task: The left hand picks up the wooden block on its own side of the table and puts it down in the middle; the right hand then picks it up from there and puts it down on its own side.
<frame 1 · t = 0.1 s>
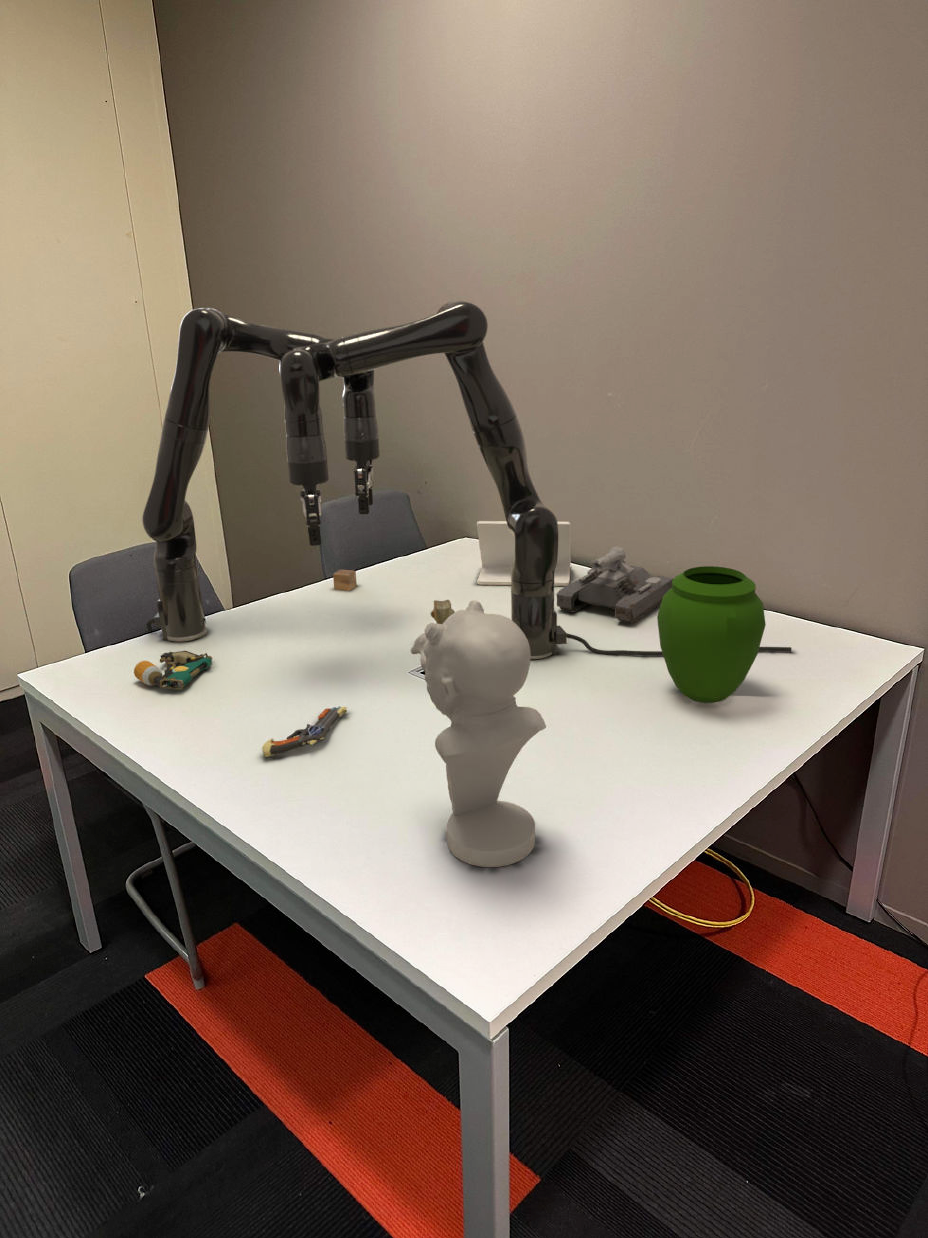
left hand: (366, 509, 193), 29 cm above the table, tool pointing down, fingers open, 8 cm apart
right hand: (314, 539, 170), 29 cm above the table, tool pointing down, fingers open, 8 cm apart
block: (345, 587, 233), on the table
vase: (704, 696, 165), on the table
toy: (615, 605, 214), on the table
toy gun: (306, 735, 154), on the table
sculpture: (445, 671, 180), on the table
bust sculpture: (470, 832, 125), on the table
spray gun: (177, 676, 181), on the table
tablet stand: (525, 575, 239), on the table
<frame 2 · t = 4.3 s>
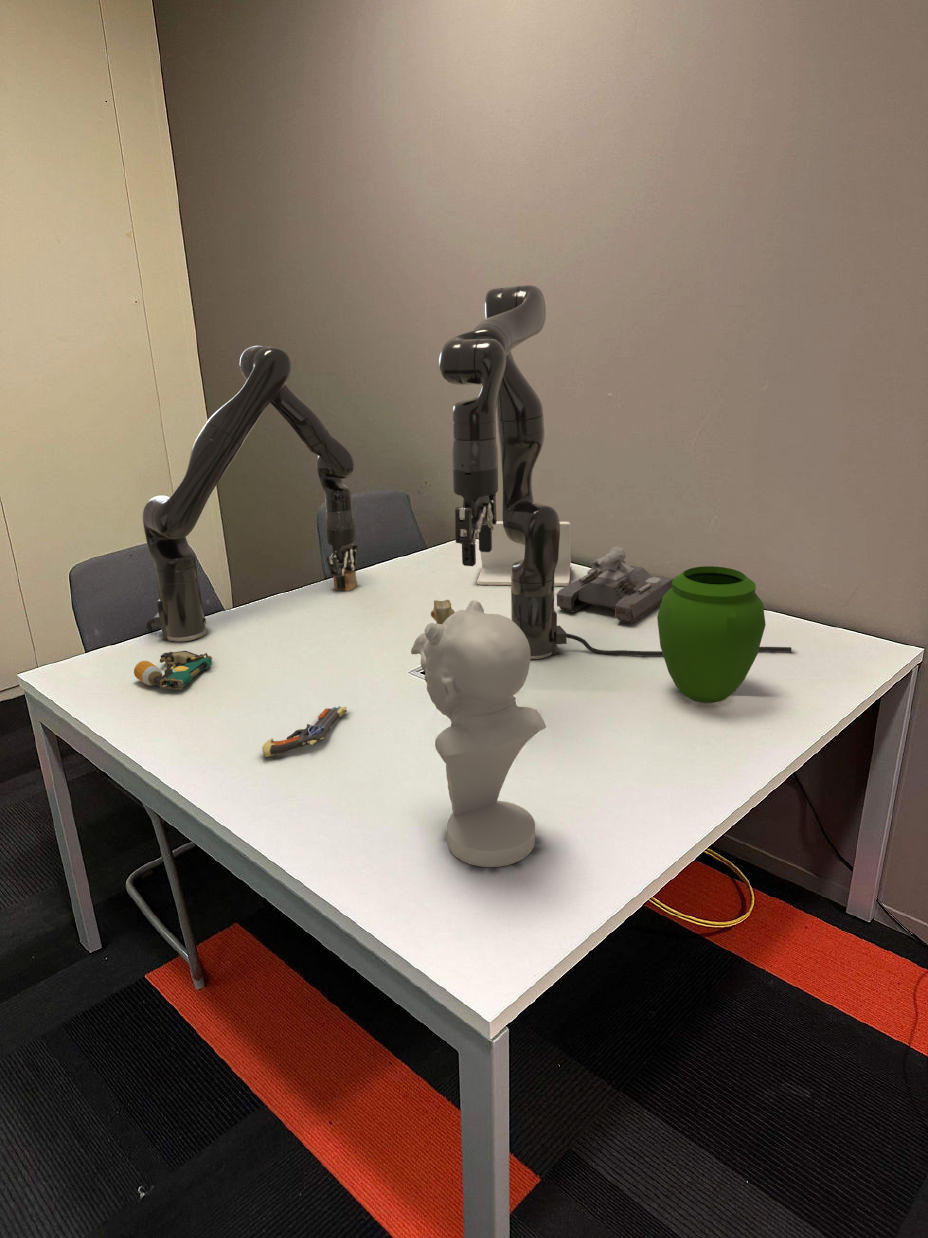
left hand: (345, 586, 233), 1 cm above the table, tool pointing down, fingers closed on block, 4 cm apart
right hand: (477, 558, 148), 31 cm above the table, tool pointing down, fingers open, 8 cm apart
block: (345, 587, 233), on the table, touching left hand
everything else where it was.
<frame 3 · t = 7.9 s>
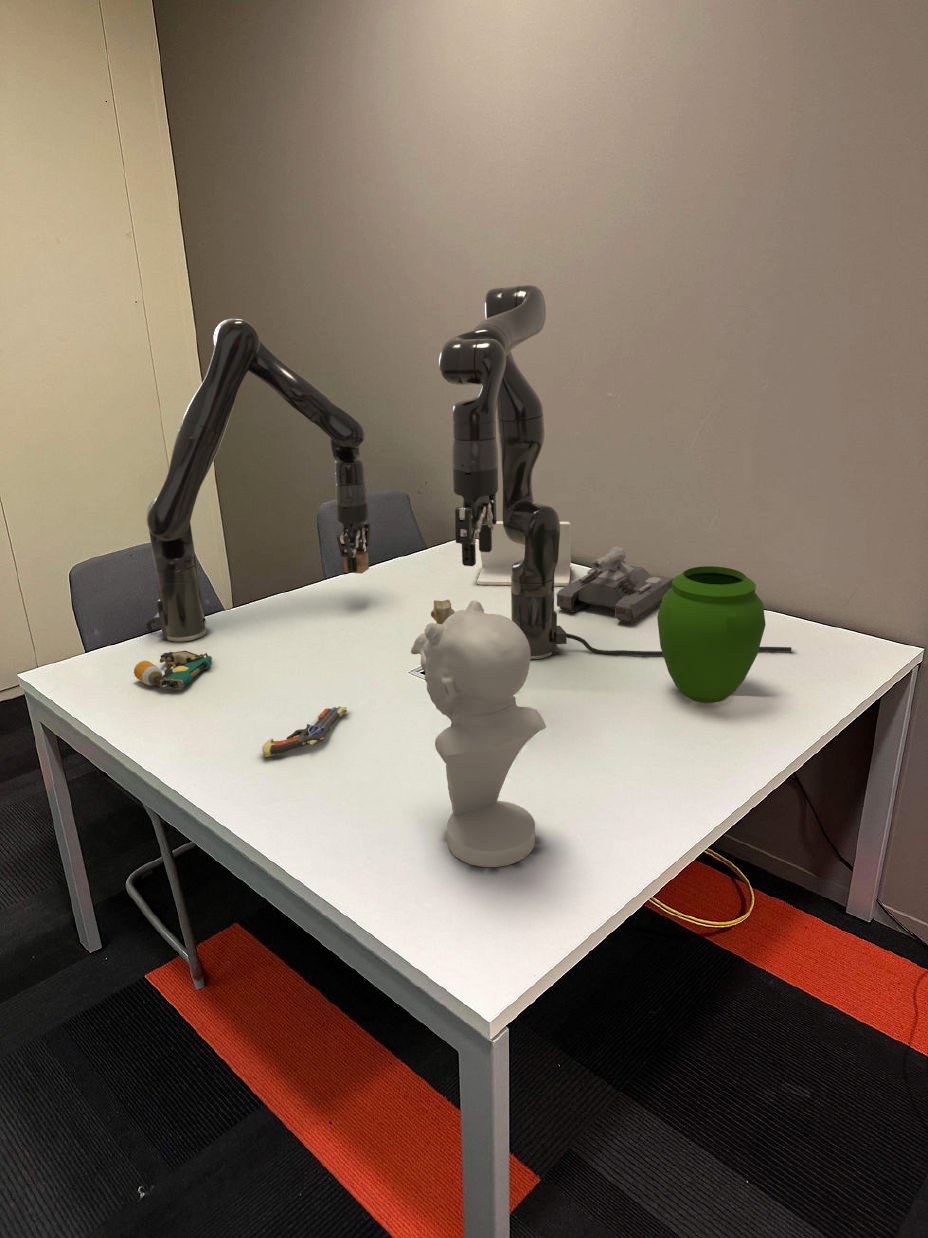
left hand: (356, 568, 213), 11 cm above the table, tool pointing down, fingers closed on block, 4 cm apart
right hand: (477, 558, 148), 31 cm above the table, tool pointing down, fingers open, 8 cm apart
block: (356, 570, 213), point 10 cm above the table, touching left hand
everything else where it was.
when the left hand's fingers open (1 cm above the table, at t = 11.8 s): block stays where it is, on the table.
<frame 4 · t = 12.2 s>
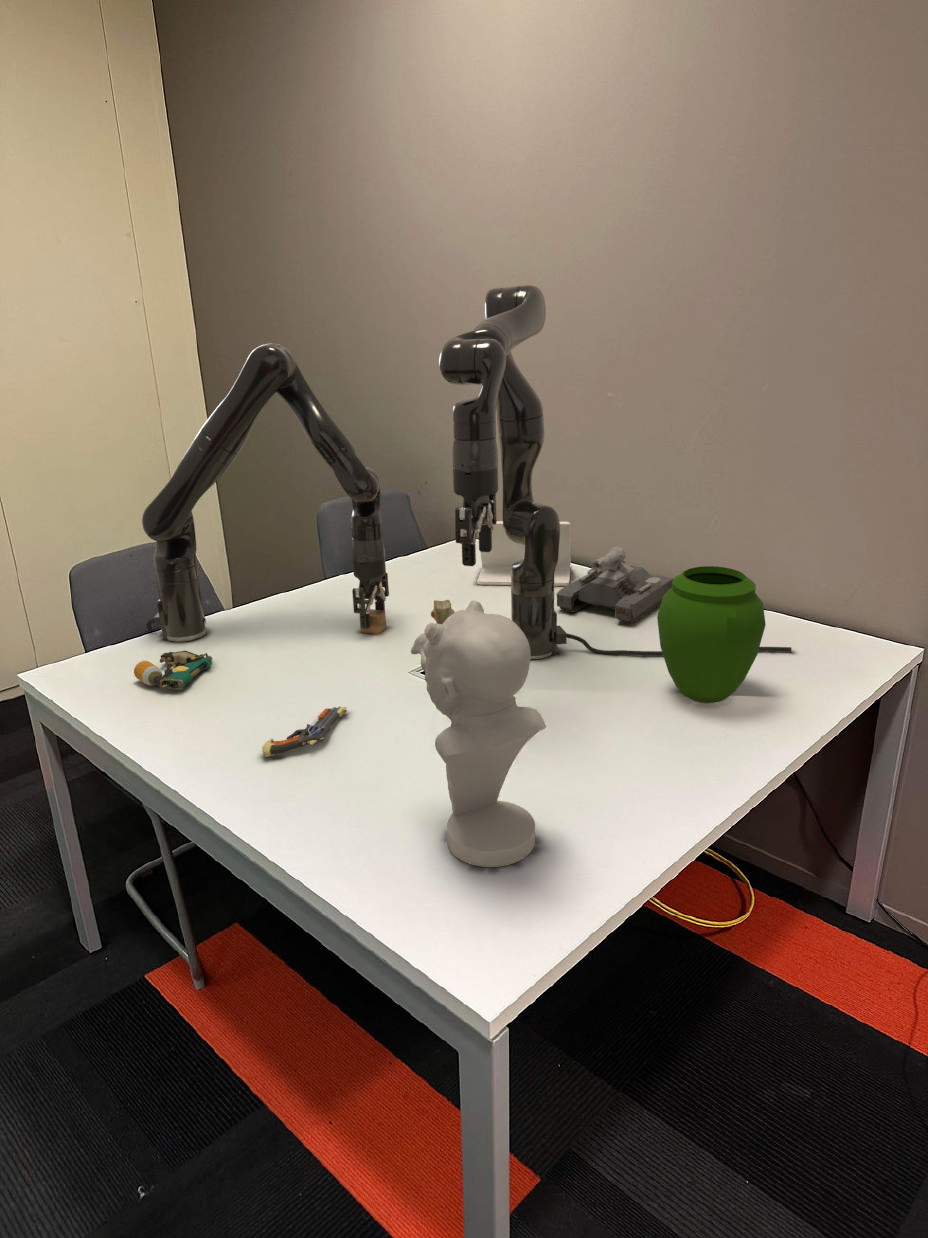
left hand: (373, 622, 202), 2 cm above the table, tool pointing down, fingers open, 7 cm apart
right hand: (477, 558, 148), 31 cm above the table, tool pointing down, fingers open, 8 cm apart
block: (373, 630, 203), on the table
everything else where it was.
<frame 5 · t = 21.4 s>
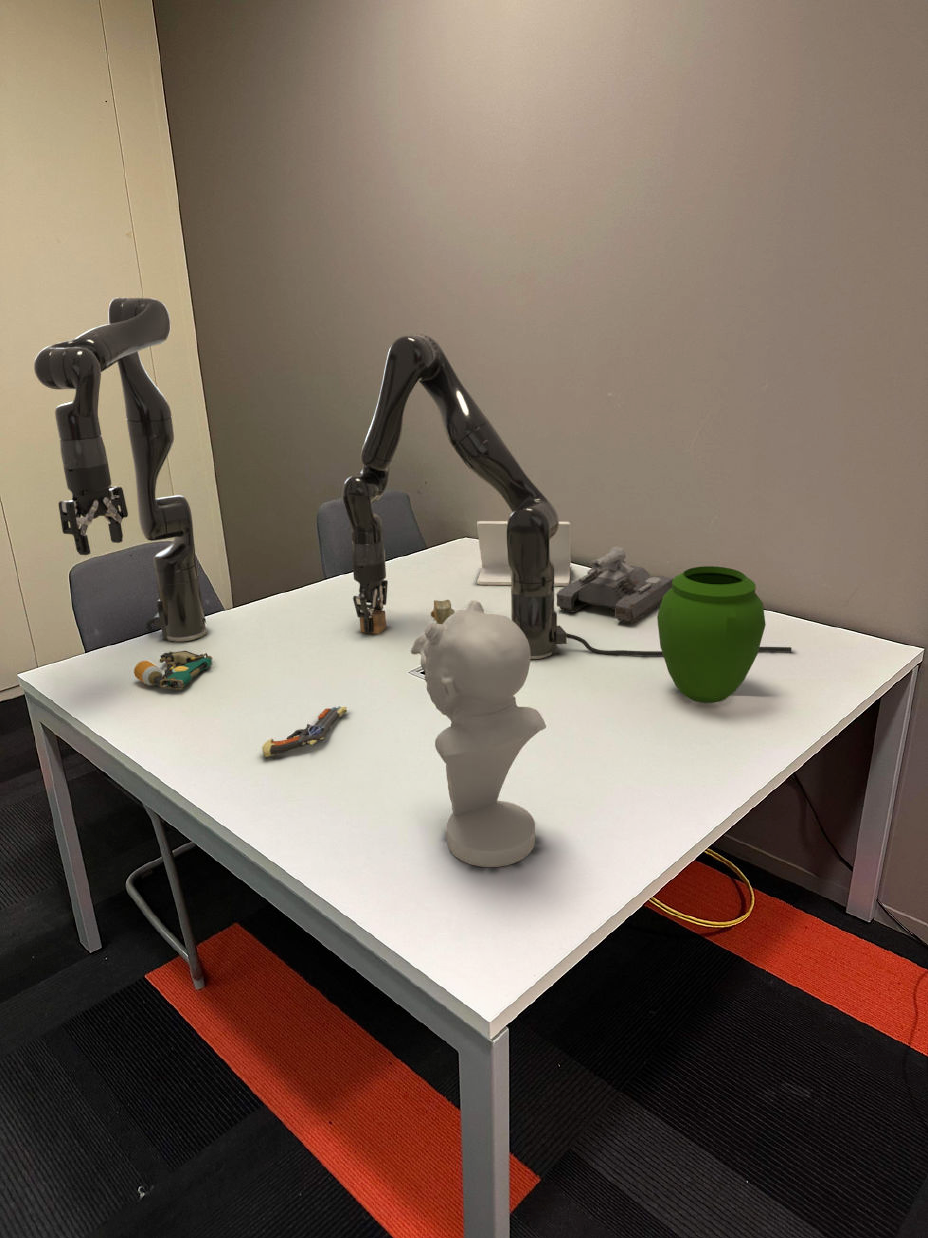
left hand: (101, 548, 161), 31 cm above the table, tool pointing down, fingers open, 8 cm apart
right hand: (373, 628, 203), 1 cm above the table, tool pointing down, fingers closed on block, 4 cm apart
block: (373, 630, 203), on the table, touching right hand
everything else where it was.
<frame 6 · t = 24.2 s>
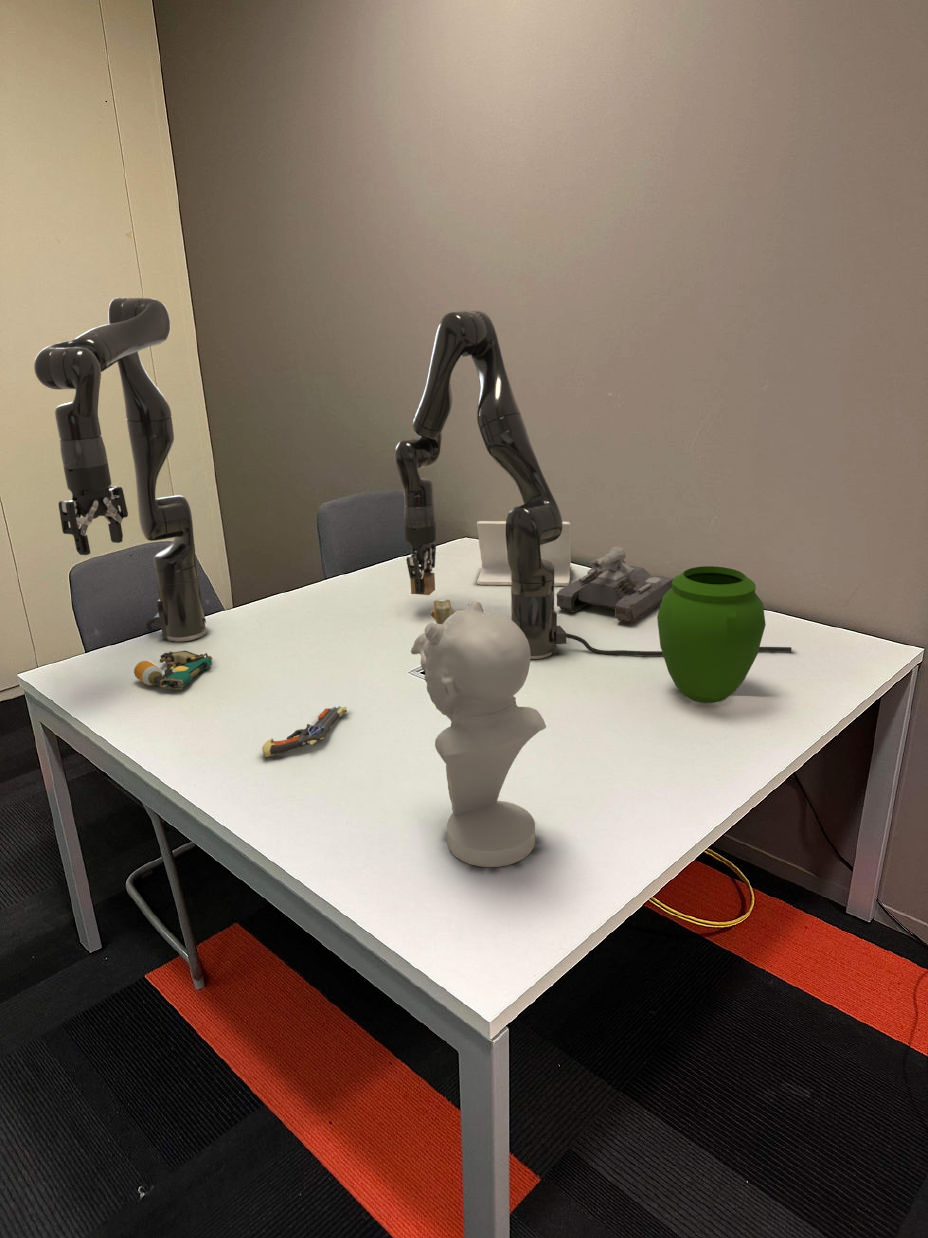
left hand: (101, 548, 161), 31 cm above the table, tool pointing down, fingers open, 8 cm apart
right hand: (423, 589, 210), 6 cm above the table, tool pointing down, fingers closed on block, 4 cm apart
block: (423, 591, 210), point 6 cm above the table, touching right hand
everything else where it was.
when the right hand's fingers open (1 cm above the table, at t = 26.9 s): block stays where it is, on the table.
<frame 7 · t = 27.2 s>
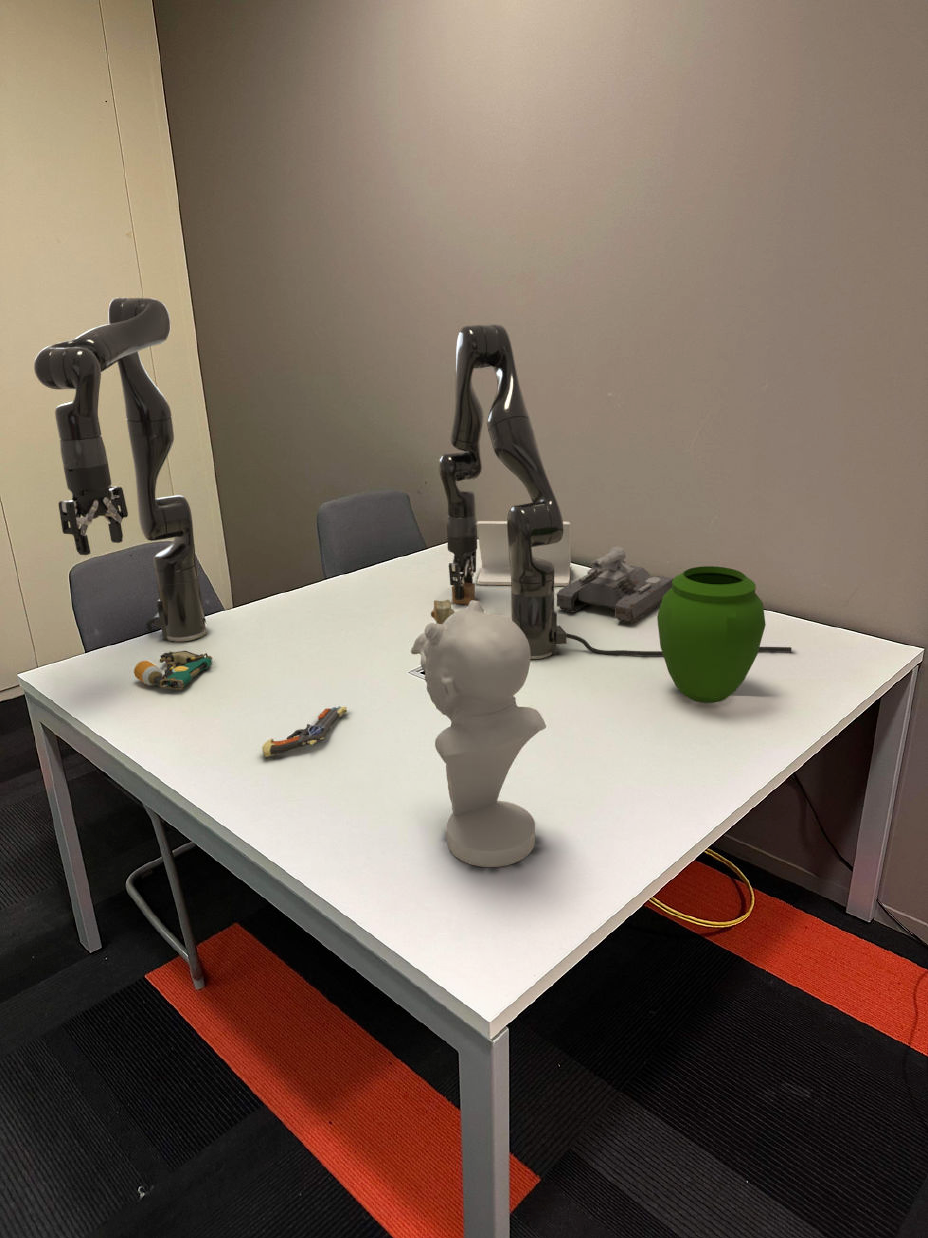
left hand: (101, 548, 161), 31 cm above the table, tool pointing down, fingers open, 8 cm apart
right hand: (463, 594, 220), 2 cm above the table, tool pointing down, fingers open, 6 cm apart
block: (463, 601, 220), on the table
everything else where it was.
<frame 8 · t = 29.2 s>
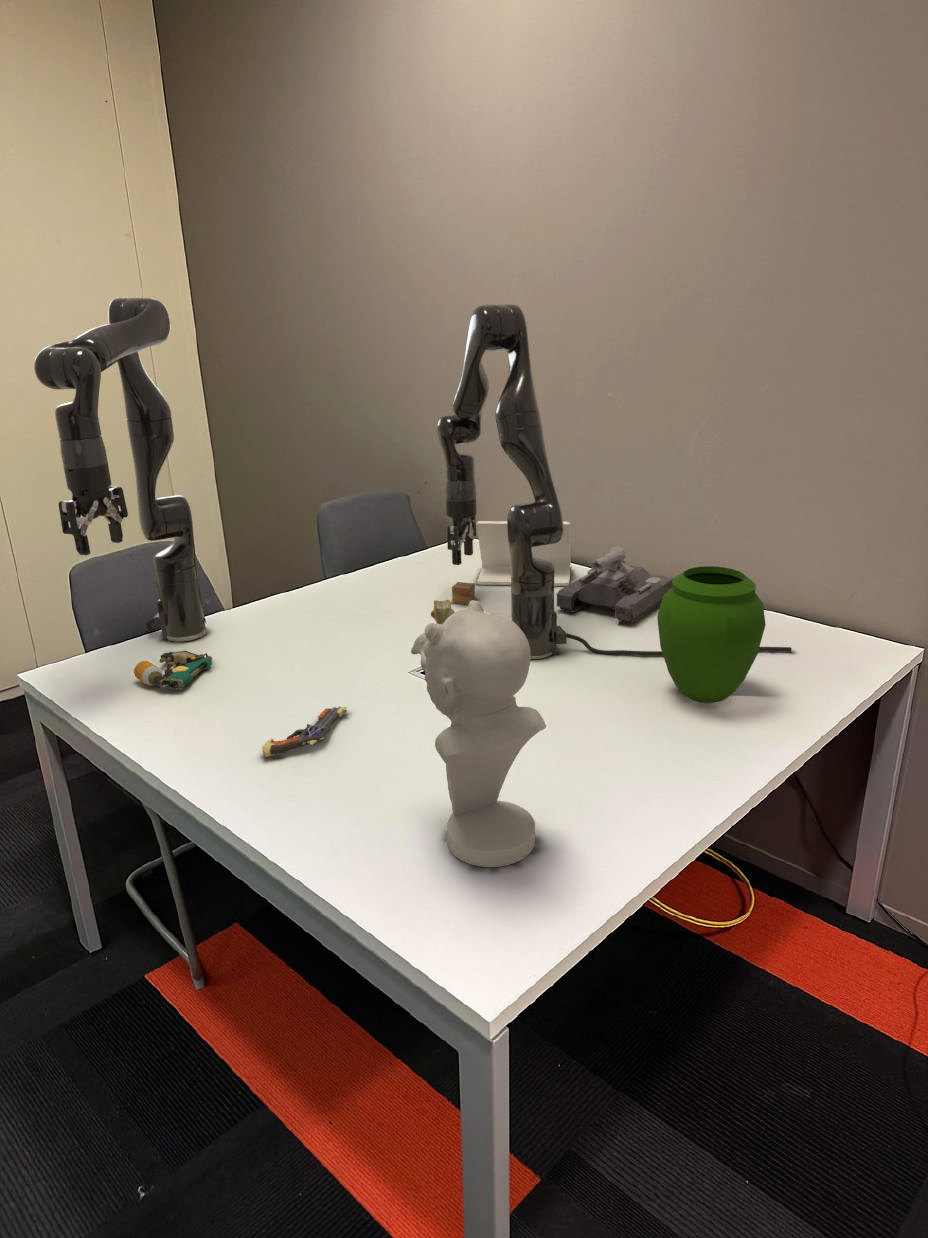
left hand: (101, 548, 161), 31 cm above the table, tool pointing down, fingers open, 8 cm apart
right hand: (462, 559, 216), 11 cm above the table, tool pointing down, fingers open, 8 cm apart
nothing on the table moved.
at the end: block inside the target area (0.0 cm from its centre), on the table; block tilted 0°; the two hands never held the block at the same time; the left hand is holding nothing; the right hand is holding nothing; block at rest at the end (0.0 cm/s) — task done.
